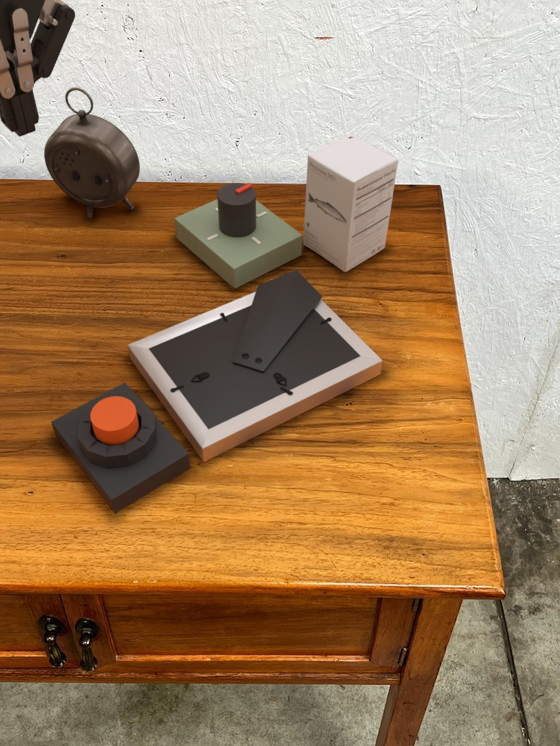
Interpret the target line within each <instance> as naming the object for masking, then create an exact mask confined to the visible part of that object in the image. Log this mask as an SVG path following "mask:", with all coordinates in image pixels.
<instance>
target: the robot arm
mask: <svg viewBox="0 0 560 746" xmlns="http://www.w3.org/2000/svg"><path fill="white" fill-rule="evenodd" d="M75 19H76V12H75V10H74V9H73V8H72V7H71V6H69V5H68V4H67V3H66V2H64V1H63V0H0V122H1V123H2V124H3V125H4V126H5V128H7V129H8V130H9V131H10V132H11V133H15V134H16V136H18V137H20V138H21V137H23V136H26V135H28V134H31V133H33V132H36V130H37V129H36V124H39V120H40V114H39V111H38V106H37V103H36V102H37V101H36V98H35V94H34V87H35V84H36V83H37V82H38V81H39V80H40V79H48V78H50V77H51V75H52V73H53V71H54V68H55V66H56V63H57V61H58V58H59V57H60V55H61V52H62V50H63V47H64V45H65V42H66V41H67V38H68V35H69V33H70V30H71V28H72V26H73V24H74V21H75ZM37 24H38V25H37ZM36 26H37V27H36ZM31 39H32V40H31Z"/></svg>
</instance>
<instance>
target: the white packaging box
mask: <svg viewBox="0 0 560 746" xmlns="http://www.w3.org/2000/svg"><path fill="white" fill-rule="evenodd" d="M398 165H399V158H398V157H396V156H394V155H393V154H390V153H388V152H387V151H385V150H383V149H381V148H379V147H377V146H376V145H374V144H373V143H371V142H369V141H367V140H365V139H363V138H362V137H360V136H357V135H356V134H355V133H353V132H351V133H348V134H345V135H344V136H342V137H340V138H338V139H336V140H334V141H331V142H330V143H328V144H326V145H324V146H322V147H320V148H318V149H316V150H314V151H312V152H310V153H309V154H308V155H307V163H306V183H305V184H306V185H305V201H304V203H305V204H304V219H303V237H302V246H305V247H307V248H308V249H310V250H311V251H312V252H315V253H316V254H318V255H319V256H320V257H322V258H323V259H325V260H326V261H328V262H329V263H331V264H332V265H334V266H335V267H337V268H338V269H339V270H340V271H342V272H343V273H348V272H349V271H350V270H352V269H353V268H355V267H357V266H359V265H360V264H362V263H363V262H365V261H367V260H368V259H370V258H371V257H373V256H375V255H376V254H378V253H380V252H381V251H382V250H384V249H385V248H386V242H387V236H388V231H389V225H390V224H389V223H390V216H391V212H392V211H391V210H392V203H393V197H394V190H395V185H396V177H397V171H398Z"/></svg>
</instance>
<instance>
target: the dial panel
mask: <svg viewBox="0 0 560 746" xmlns="http://www.w3.org/2000/svg"><path fill="white" fill-rule="evenodd" d="M173 220H174V229H175V230H174V231H175V238H176V239H177V240H178V241H179V242H180V243H182V244H183V245H184V246H185V247H186V248H187V249H188V250H189V251H191V252H192V254H194V255H195V256H197V258H199V260H201V262H203V263H204V264H205V265H207V267H209V268H210V269H211V270H212V271H213V272H215V273H216V274H217V275H218V276H219V277H220V278H221V279H223V281H225V283H227V284H228V285H229V286H231V287H232V288H233V289H234V290H236V289H237V288H239V287H242V286H243V285H246V284H247V283H249V282H252V281H254V280H255V279H258V278H260V277H261V276H263V275H265V274H268V273H269V272H270V271H273V270H276V269H277V268H279V267H281V266H283V265H285V264H288V263H289V262H291V261H293V260H295V259H297V258H299V257H300V256H302V254H303V234H301V232H299V231H298V230H297V229H295V228H294V227H292V226H291V225H290V224H288V223H287V222H286V221H284V220H283V219H282V218H280V217H279V216H278V215H276V214H275V213H274V212H273V211H271V210H270V209H268V208H267V207H266V206H264V205H263V204H262V203H261V202H259V201H258V200H257V199H256V228H255V230H254V231H253V232H252V233H251V234H249V235H247V236H243V237H231V236H228V235H225V234H224V233H222V232H221V230H220V229H219V219H218V201H217V199H214V200H212V201H210V202H208V203H205V204H203V205H201V206H198V207H196V208H194V209H192V210H190V211H188V212H185V213H183V214H181V215H178V216H176V217H174V219H173Z"/></svg>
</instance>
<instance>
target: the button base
mask: <svg viewBox="0 0 560 746" xmlns="http://www.w3.org/2000/svg"><path fill="white" fill-rule="evenodd" d="M113 396H119V397H124V398H127V399H129V400H130V401H131V402H132V403H133V404H134V405H135V408H136V412H137V417H138V422H139V428H138V431H137V433H136V435H135V436H134V437H133V438H132V439H131V440H129V441H127V442H125V443H123V444H119V445H108V444H105V443H103V442H101V441H99V440H98V439H97V437H96V436H95V433H94V430H93V426H92V422H91V418H90V414H91V411H92V409H93V407H94V406H95V405H96V404H97V403H98V402H99V401H101V400H103V399H105V398H108V397H113ZM50 423H51V426H52V429H53V432H54V435H55V438H56V439H57V440H58V441H59V443H60V444H61V445H62V447H63V448H64V449H65V450H66V452H67V453H68V454H69V456H70V457H71V459H72V460H73V461H74V462H75V464H76V465H77V466H78V468H79V469H80V470H81V472H83V474H84V475H85V476H86V478H87V479H88V480H89V482H90V483H91V484H92V486H93V487H94V488H95V490H96V491H97V492H98V493H99V495H100V496H101V497H102V499H103V500H104V502H105V503H106V504H107V505H108V507H109V508H110V509H111V511H112V512H113V513H114V514H117V513H119V512H120V511H122V510H124V509H126V508H127V507H128V506H130V505H132V504H133V503H135V502H137V501H138V500H140V499H142V498H143V497H145V496H146V495H148V494H150V493H152V492H153V491H155V490H156V489H158V488H160V487H161V486H163V485H164V484H166V483H168V482H169V481H171V480H172V479H174V478H176V477H178V476H179V475H181V474H183V473H184V472H186V471H187V470H189V469H191V461H190V454H189V452H188V451H187V449H185V448H184V446H183V445H182V444H181V443H180V442H179V440H177V439H176V437H175V436H174V435H173V434H172V433H171V432H170V430H168V428H166V427H165V425H164V424H163V423H162V422H161V421H160V420H159V419H158V417H157V416H156V415H155V412H154V411H153V410H152V409H151V408H150V407H149V406H148V405H147V404H146V403H145V401H143V400H142V399H141V398H140V397H139V396H138V395H137V394H136V392H134V391H133V389H132V388H131V387H130V386H129V385H128V384H127V383H126V382H123V383H121V384H120V385H118V386H115V387H114V388H112V389H110V390H108V391H106V392H105V393H102V394H100V395H99V396H97V397H95V398H93V399H91V400H89V401H87V402H85V403H84V404H82V405H80V406H78V407H76V408H74V409H72V410H70V411H69V412H67V413H65V414H62V415H61V416H59V417H57V418H55V419H52V421H50Z"/></svg>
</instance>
